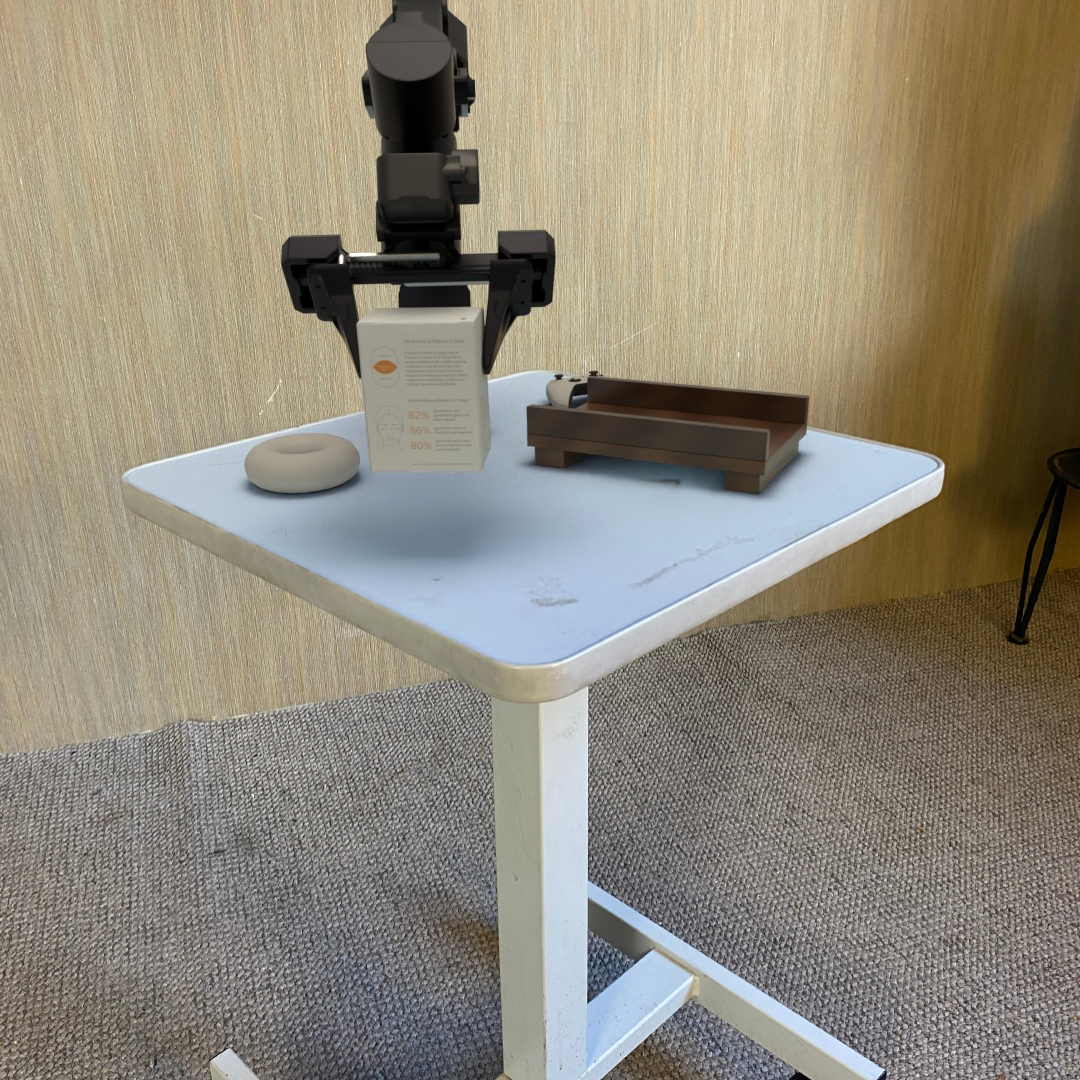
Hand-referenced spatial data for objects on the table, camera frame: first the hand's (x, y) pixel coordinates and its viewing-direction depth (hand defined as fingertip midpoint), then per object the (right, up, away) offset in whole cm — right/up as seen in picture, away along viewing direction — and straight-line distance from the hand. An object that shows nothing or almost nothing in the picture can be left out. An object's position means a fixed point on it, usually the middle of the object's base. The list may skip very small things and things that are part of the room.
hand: (423, 373), depth 71 cm
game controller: (+13, +4, +46) cm, 48 cm away
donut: (-13, -6, +22) cm, 26 cm away
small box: (0, -6, +4) cm, 7 cm away
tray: (+20, -4, +26) cm, 33 cm away
